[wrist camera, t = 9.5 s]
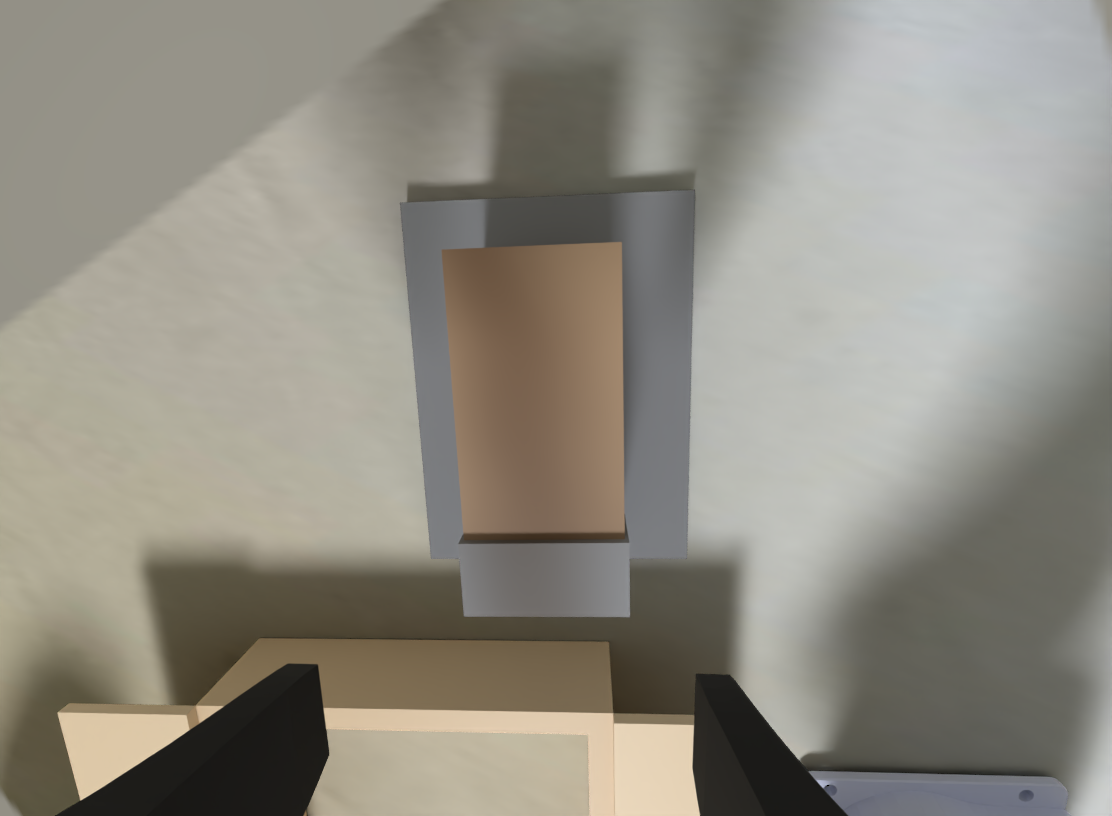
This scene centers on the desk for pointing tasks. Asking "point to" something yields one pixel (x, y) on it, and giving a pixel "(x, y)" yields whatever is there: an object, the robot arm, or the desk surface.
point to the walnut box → (539, 428)
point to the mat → (648, 342)
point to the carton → (430, 710)
